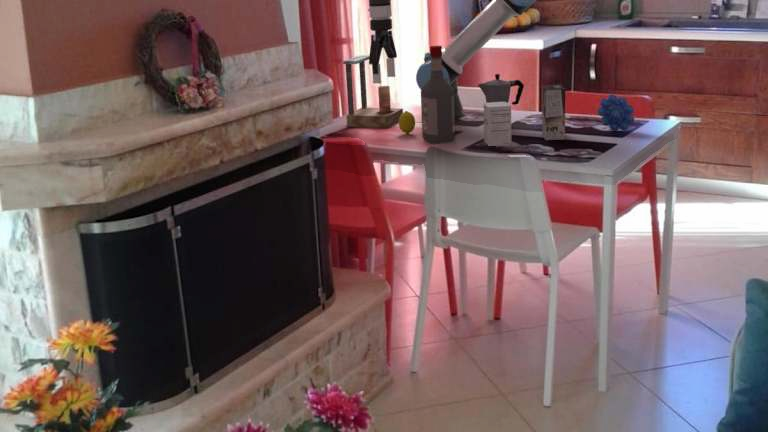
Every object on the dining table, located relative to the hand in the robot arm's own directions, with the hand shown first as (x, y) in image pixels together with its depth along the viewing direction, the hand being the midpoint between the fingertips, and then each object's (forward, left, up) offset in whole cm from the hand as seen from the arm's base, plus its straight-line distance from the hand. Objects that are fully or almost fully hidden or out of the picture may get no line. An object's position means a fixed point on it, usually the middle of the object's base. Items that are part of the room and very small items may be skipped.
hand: (384, 80), depth 312 cm
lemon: (-14, +16, -16) cm, 26 cm away
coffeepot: (-42, 0, -16) cm, 45 cm away
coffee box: (-62, +12, -16) cm, 65 cm away
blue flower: (-80, +2, -16) cm, 81 cm away
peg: (0, 0, -15) cm, 15 cm away
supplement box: (-47, +24, -16) cm, 55 cm away
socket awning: (+3, 0, -15) cm, 16 cm away
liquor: (-27, +22, -16) cm, 38 cm away
